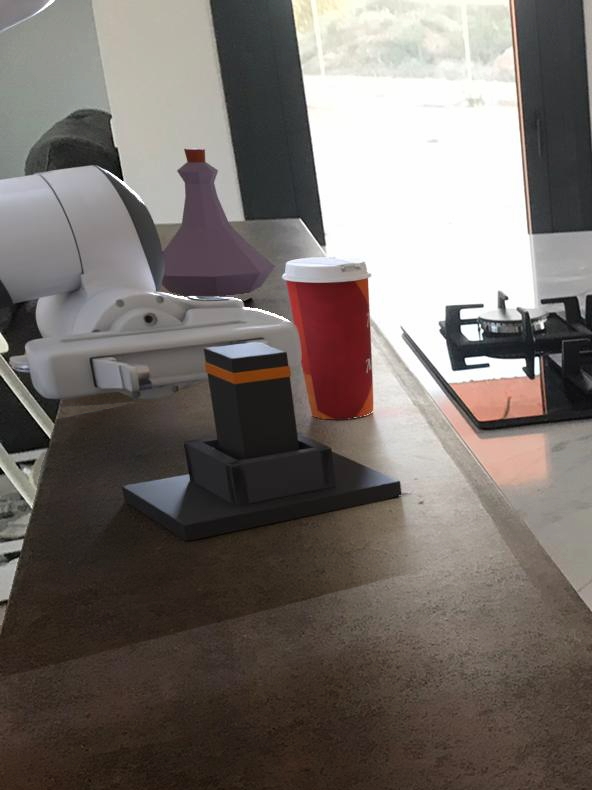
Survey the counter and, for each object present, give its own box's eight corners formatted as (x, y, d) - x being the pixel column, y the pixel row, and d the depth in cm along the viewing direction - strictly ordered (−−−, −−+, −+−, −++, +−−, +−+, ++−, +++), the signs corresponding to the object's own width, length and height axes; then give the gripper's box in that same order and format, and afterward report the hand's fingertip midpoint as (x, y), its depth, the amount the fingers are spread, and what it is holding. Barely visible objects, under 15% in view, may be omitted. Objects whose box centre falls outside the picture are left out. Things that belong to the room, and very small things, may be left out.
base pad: (186, 542, 87) (176, 482, 86) (124, 501, 95) (114, 446, 93) (402, 496, 98) (396, 442, 96) (329, 463, 105) (323, 413, 104)
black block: (250, 496, 93) (230, 359, 89) (222, 480, 96) (202, 348, 92) (305, 485, 96) (288, 351, 92) (275, 471, 99) (258, 341, 95)
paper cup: (402, 410, 122) (388, 260, 117) (338, 427, 116) (320, 269, 111) (345, 399, 126) (329, 253, 121) (280, 415, 120) (260, 261, 115)
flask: (284, 306, 176) (265, 152, 168) (152, 312, 169) (125, 152, 162) (274, 288, 189) (255, 145, 182) (151, 293, 183) (126, 145, 175)
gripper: (-7, 319, 100) (49, 346, 91) (254, 294, 113) (325, 316, 104) (10, 399, 102) (66, 433, 93) (264, 366, 115) (334, 392, 106)
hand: (205, 371), depth 99 cm, fingers open, 8 cm apart
